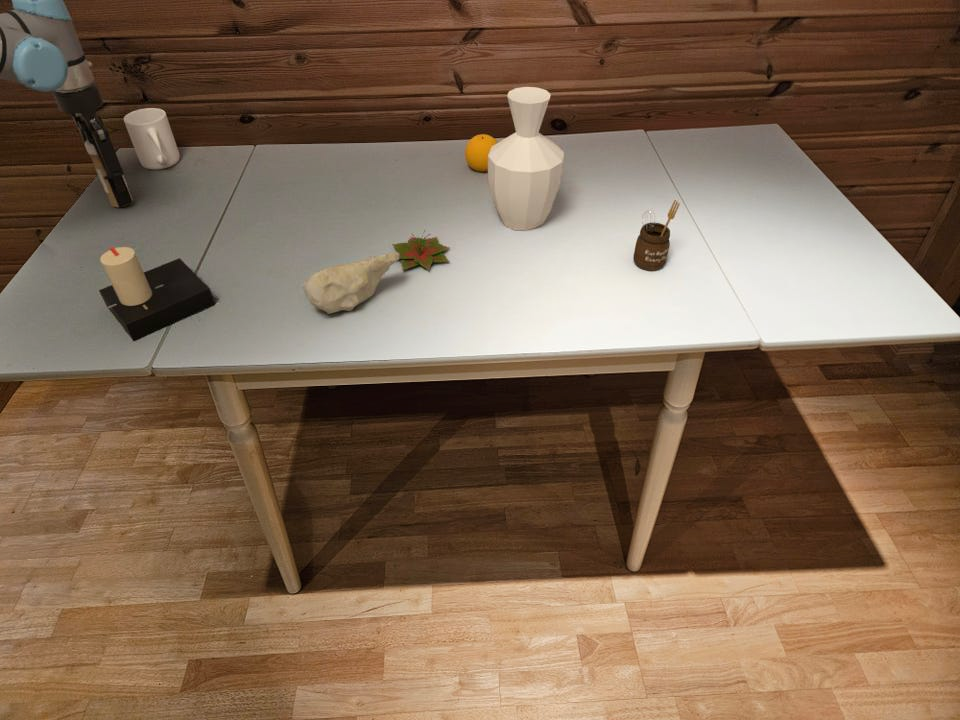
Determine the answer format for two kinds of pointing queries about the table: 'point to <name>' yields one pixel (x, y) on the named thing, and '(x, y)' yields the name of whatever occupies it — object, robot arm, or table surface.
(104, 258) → the hob knob
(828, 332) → the table surface
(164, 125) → the mug
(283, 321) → the table surface
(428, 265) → the lily flower
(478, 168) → the orange fruit
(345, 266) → the chicken drumstick
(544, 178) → the vase
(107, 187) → the sprinkles bottle
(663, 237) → the utensil holder
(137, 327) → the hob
